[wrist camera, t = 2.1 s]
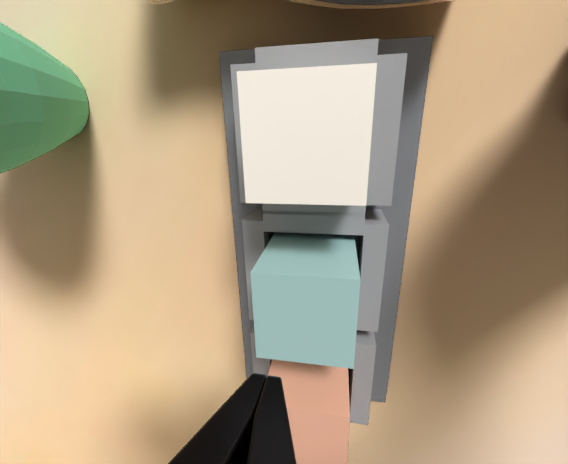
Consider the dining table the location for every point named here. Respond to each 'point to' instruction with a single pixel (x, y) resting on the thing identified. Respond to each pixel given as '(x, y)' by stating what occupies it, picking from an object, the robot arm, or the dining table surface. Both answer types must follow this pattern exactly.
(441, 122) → the dining table surface
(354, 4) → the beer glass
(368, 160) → the key ivory
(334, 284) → the key teal
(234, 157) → the keypad base
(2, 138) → the mug
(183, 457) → the robot arm
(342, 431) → the salmon pink block
